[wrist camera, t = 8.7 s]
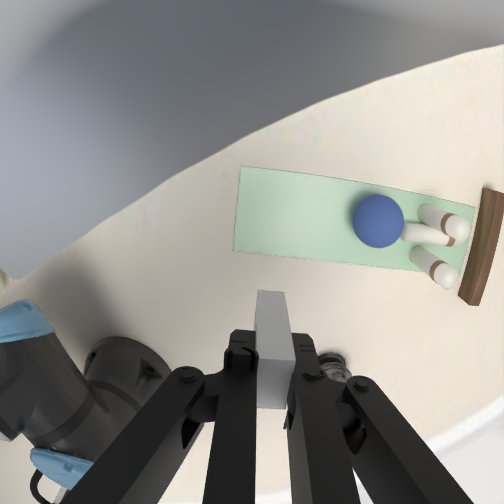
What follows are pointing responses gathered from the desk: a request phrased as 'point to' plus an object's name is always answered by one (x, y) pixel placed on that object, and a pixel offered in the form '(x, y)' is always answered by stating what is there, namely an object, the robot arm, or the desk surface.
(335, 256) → the lane mark
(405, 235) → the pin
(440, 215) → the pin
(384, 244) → the ball
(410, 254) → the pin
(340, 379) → the salt shaker
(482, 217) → the backstop
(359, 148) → the desk surface
